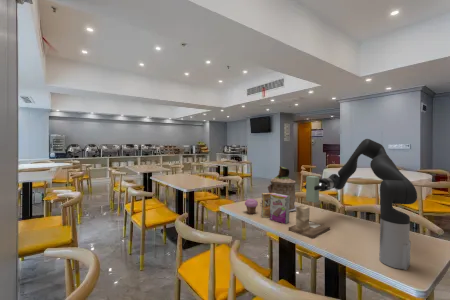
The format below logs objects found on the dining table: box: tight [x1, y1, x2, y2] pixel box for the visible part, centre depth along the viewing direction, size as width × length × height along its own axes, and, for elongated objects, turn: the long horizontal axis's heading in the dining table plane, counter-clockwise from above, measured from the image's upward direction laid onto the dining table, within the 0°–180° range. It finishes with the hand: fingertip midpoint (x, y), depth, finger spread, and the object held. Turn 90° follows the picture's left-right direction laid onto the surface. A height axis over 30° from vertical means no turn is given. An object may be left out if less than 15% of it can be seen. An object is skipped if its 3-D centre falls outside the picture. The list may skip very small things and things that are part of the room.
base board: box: [288, 204, 331, 240], centre depth 120 cm, size 14×19×14 cm
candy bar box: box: [269, 193, 290, 225], centre depth 134 cm, size 11×5×16 cm, turn 47°
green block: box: [305, 175, 320, 203], centre depth 123 cm, size 5×5×14 cm
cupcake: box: [244, 198, 259, 215], centre depth 149 cm, size 9×9×10 cm
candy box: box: [261, 192, 273, 218], centre depth 143 cm, size 9×4×15 cm, turn 98°
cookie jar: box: [260, 165, 299, 212], centre depth 164 cm, size 25×25×32 cm
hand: (310, 187), depth 122 cm, fingers closed on green block, 5 cm apart
